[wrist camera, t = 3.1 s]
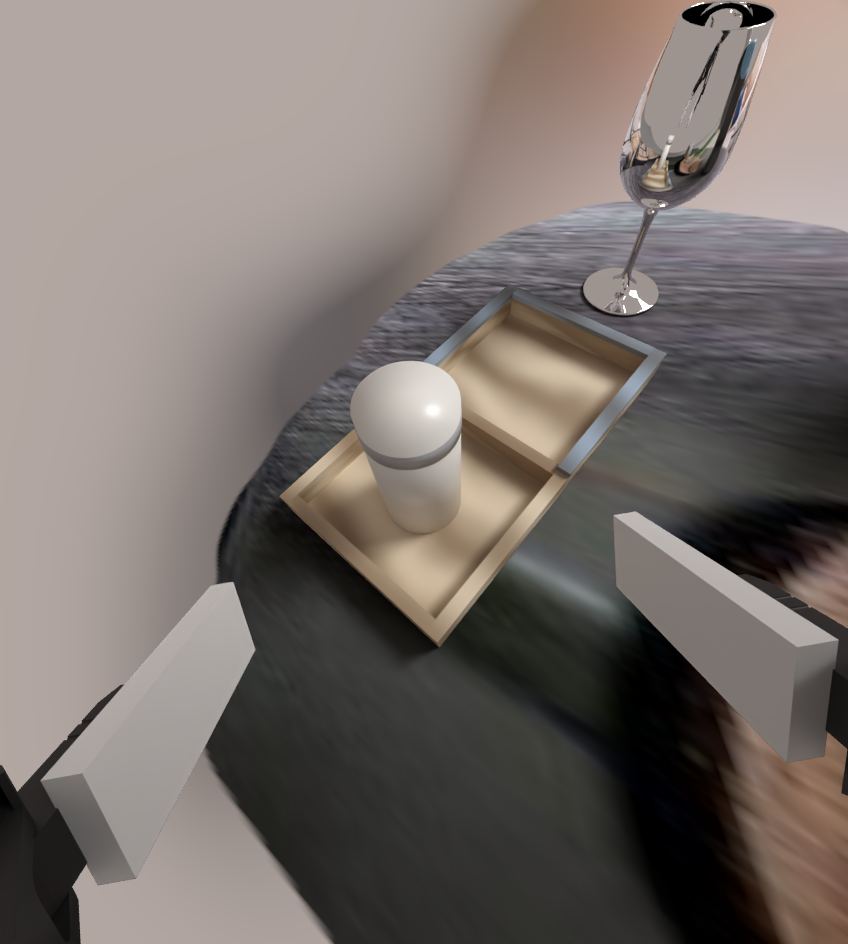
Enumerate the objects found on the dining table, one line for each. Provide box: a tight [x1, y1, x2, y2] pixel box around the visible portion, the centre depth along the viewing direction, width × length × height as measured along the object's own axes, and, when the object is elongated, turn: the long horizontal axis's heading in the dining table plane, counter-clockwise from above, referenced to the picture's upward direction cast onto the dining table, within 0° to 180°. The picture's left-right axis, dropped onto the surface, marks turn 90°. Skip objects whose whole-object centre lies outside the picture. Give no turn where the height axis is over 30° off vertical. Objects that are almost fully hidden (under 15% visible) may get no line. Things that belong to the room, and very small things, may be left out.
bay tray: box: [280, 284, 666, 647], centre depth 34 cm, size 30×16×3 cm, turn 139°
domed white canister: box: [350, 361, 462, 534], centre depth 27 cm, size 6×6×12 cm
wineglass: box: [583, 0, 776, 316], centre depth 34 cm, size 8×8×20 cm
